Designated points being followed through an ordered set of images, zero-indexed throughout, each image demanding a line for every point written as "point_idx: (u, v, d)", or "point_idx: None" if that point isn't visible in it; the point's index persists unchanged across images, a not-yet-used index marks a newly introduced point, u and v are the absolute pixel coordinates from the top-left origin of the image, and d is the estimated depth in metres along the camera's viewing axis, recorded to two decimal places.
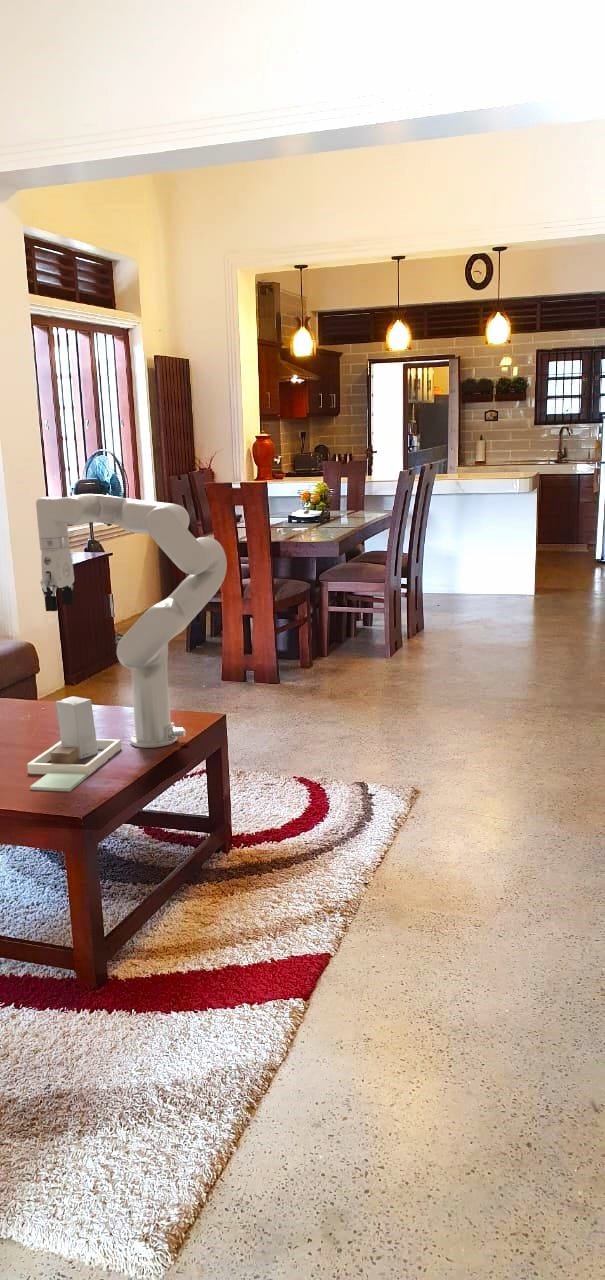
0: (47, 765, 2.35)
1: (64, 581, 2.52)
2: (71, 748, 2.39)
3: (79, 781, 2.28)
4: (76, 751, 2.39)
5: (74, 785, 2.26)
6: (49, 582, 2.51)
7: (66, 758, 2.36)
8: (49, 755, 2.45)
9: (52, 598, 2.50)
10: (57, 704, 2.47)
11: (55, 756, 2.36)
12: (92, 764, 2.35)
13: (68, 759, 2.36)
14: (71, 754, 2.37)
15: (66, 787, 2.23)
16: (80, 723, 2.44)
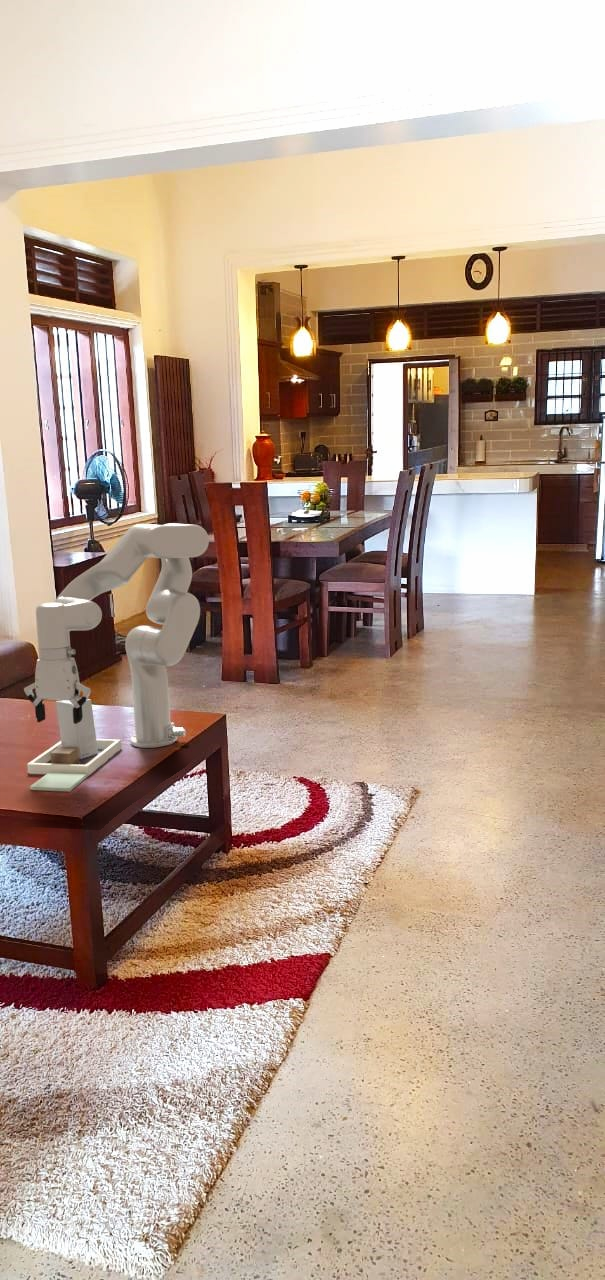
0: (47, 765, 2.35)
1: None
2: (71, 748, 2.39)
3: (79, 781, 2.28)
4: (76, 751, 2.39)
5: (74, 785, 2.26)
6: None
7: (66, 758, 2.36)
8: (49, 755, 2.45)
9: None
10: (57, 704, 2.47)
11: (54, 756, 2.36)
12: (92, 764, 2.35)
13: (68, 759, 2.36)
14: (71, 754, 2.37)
15: (66, 787, 2.23)
16: (80, 723, 2.44)
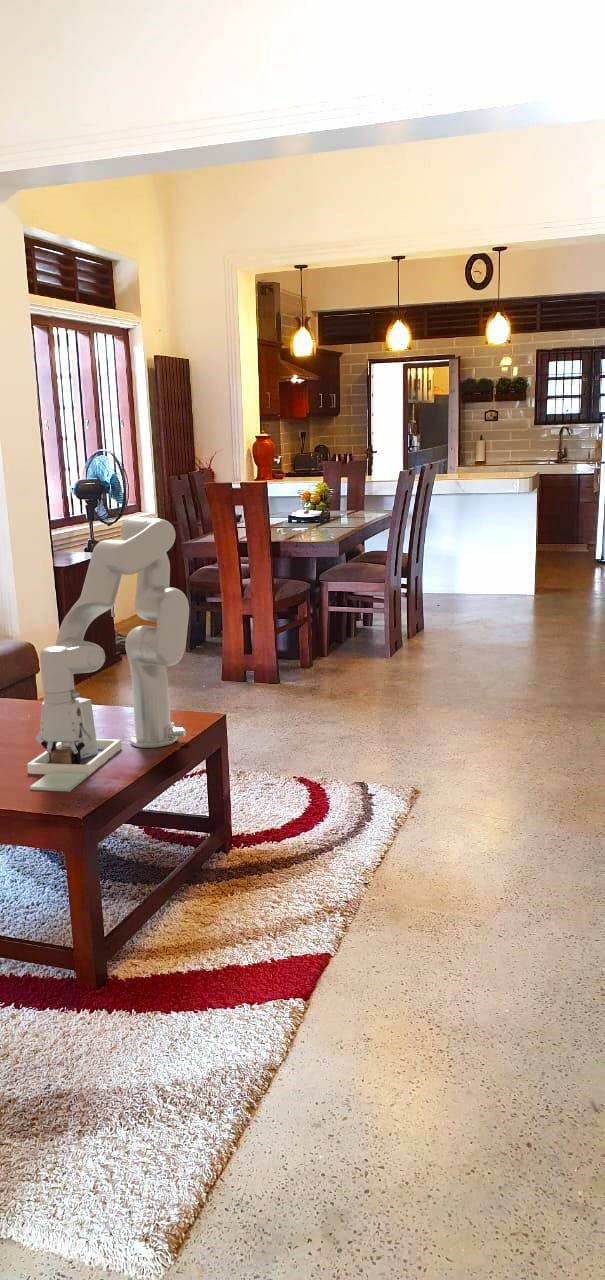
0: (47, 765, 2.35)
1: None
2: (71, 748, 2.39)
3: (79, 781, 2.28)
4: None
5: (74, 785, 2.26)
6: None
7: (65, 757, 2.36)
8: None
9: None
10: None
11: (54, 756, 2.36)
12: (92, 764, 2.35)
13: (68, 759, 2.36)
14: None
15: (66, 787, 2.23)
16: None
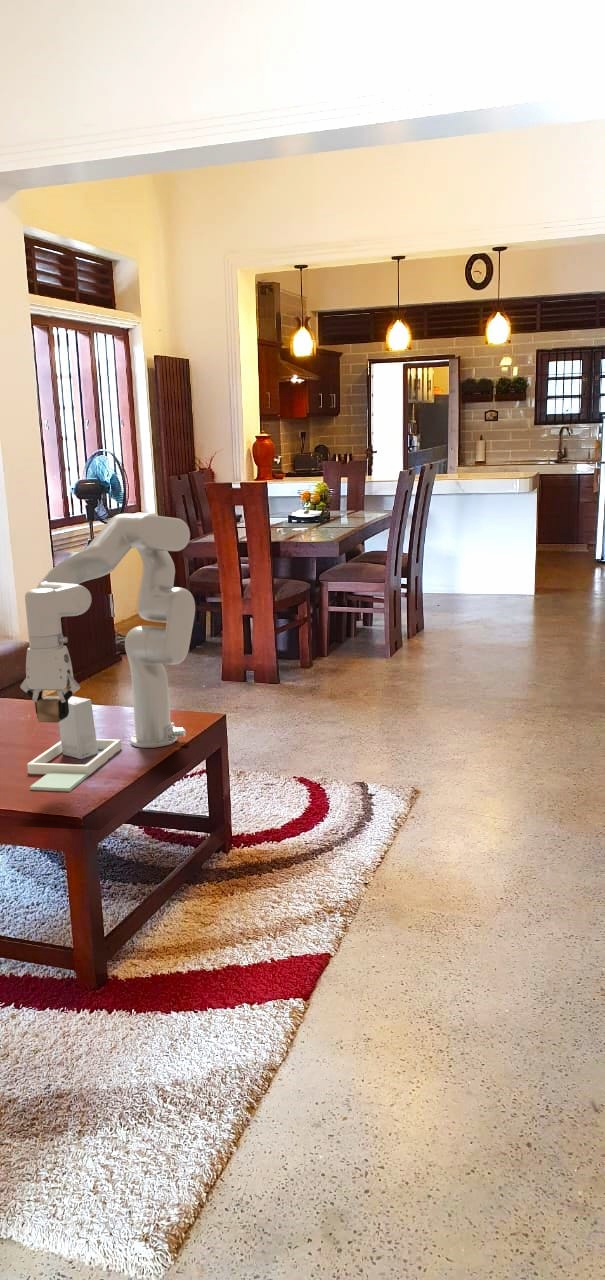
0: (47, 765, 2.35)
1: None
2: (58, 697, 2.26)
3: (79, 781, 2.28)
4: None
5: (74, 785, 2.26)
6: None
7: (52, 706, 2.22)
8: (49, 755, 2.45)
9: None
10: None
11: (40, 705, 2.23)
12: (92, 764, 2.35)
13: (55, 708, 2.22)
14: (58, 703, 2.23)
15: (66, 787, 2.23)
16: (80, 723, 2.44)
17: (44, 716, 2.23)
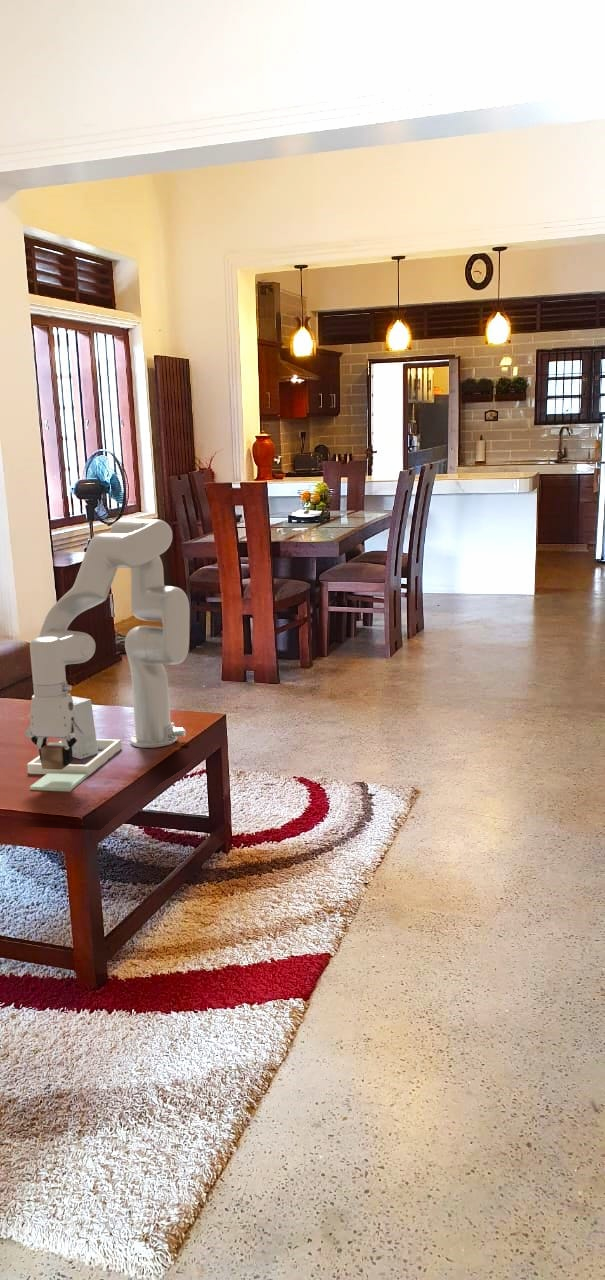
0: None
1: None
2: (62, 744, 2.28)
3: (79, 781, 2.28)
4: None
5: (74, 785, 2.26)
6: None
7: (56, 754, 2.24)
8: None
9: None
10: None
11: (45, 752, 2.25)
12: (92, 764, 2.35)
13: (59, 755, 2.24)
14: (62, 750, 2.25)
15: (66, 787, 2.23)
16: (80, 723, 2.44)
17: (48, 763, 2.25)
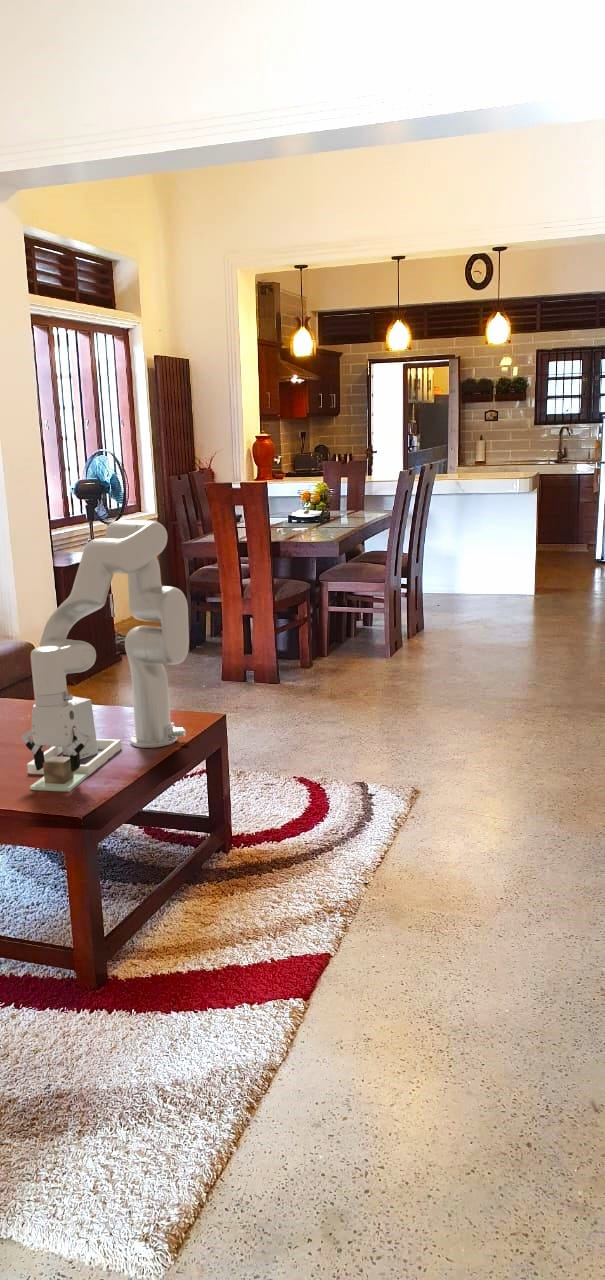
0: None
1: None
2: (64, 758, 2.29)
3: (79, 781, 2.28)
4: None
5: (74, 785, 2.26)
6: None
7: (59, 768, 2.25)
8: (49, 755, 2.45)
9: None
10: None
11: (47, 766, 2.26)
12: (92, 764, 2.35)
13: (61, 770, 2.25)
14: (65, 764, 2.26)
15: (66, 787, 2.23)
16: (80, 723, 2.44)
17: (51, 778, 2.26)
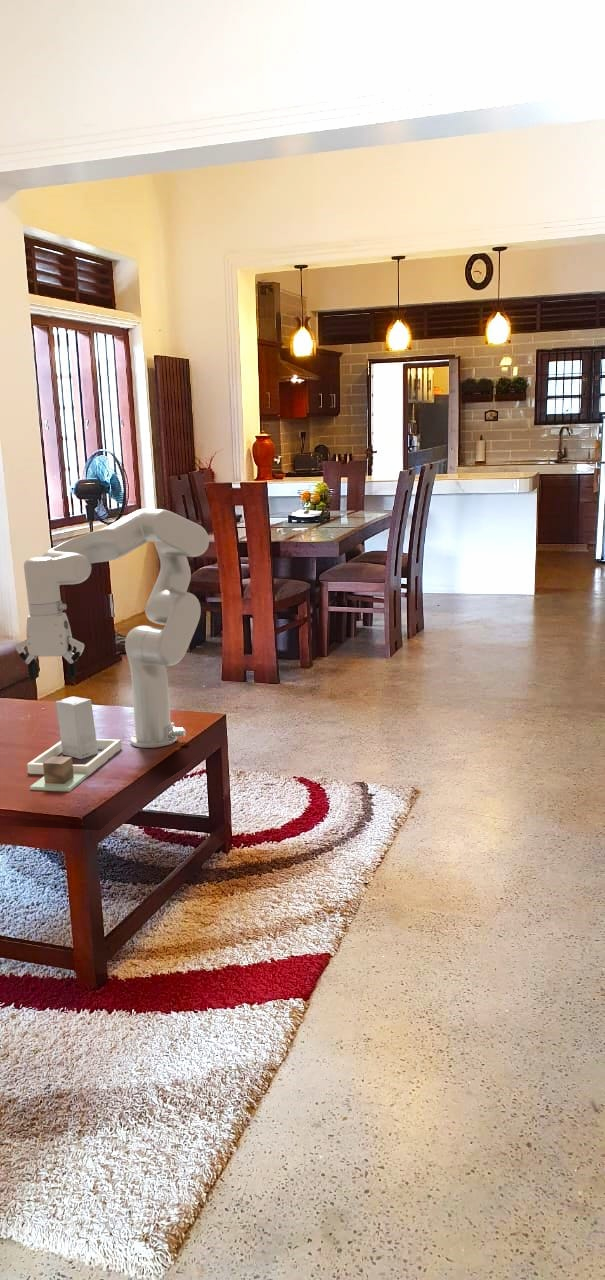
0: None
1: None
2: (64, 758, 2.29)
3: (79, 781, 2.28)
4: (70, 761, 2.29)
5: (74, 785, 2.26)
6: None
7: (59, 768, 2.25)
8: (49, 755, 2.45)
9: None
10: (57, 704, 2.47)
11: (47, 766, 2.26)
12: (92, 764, 2.35)
13: (61, 770, 2.25)
14: (65, 764, 2.26)
15: (66, 787, 2.23)
16: (80, 723, 2.44)
17: (51, 778, 2.26)
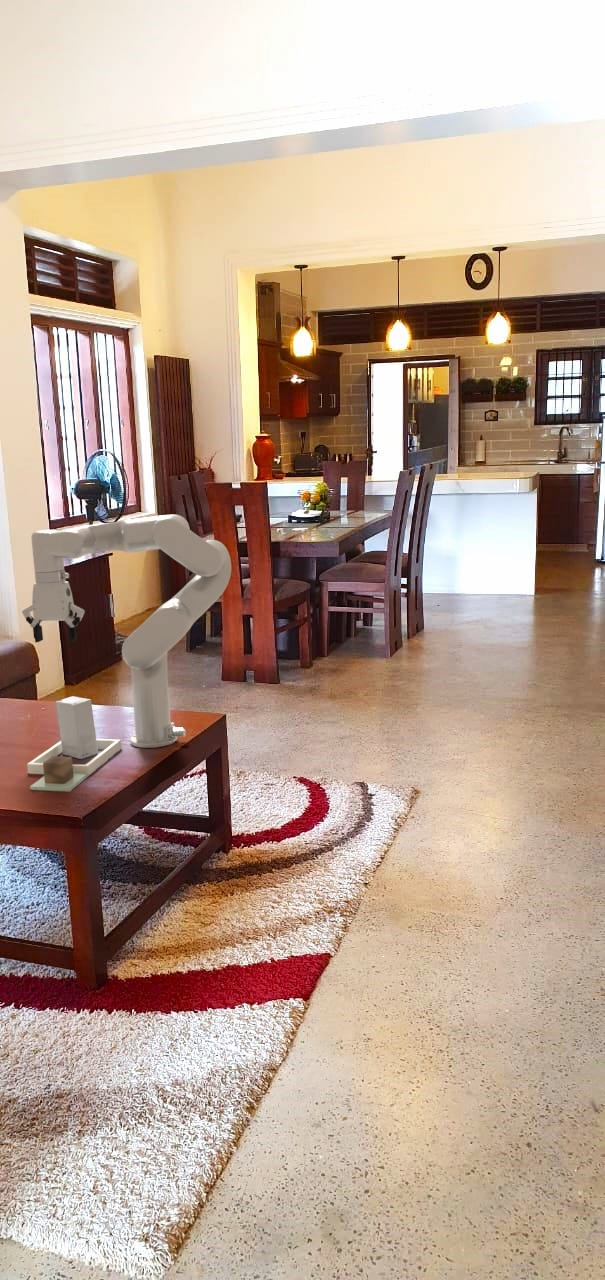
0: None
1: None
2: (64, 758, 2.29)
3: (79, 781, 2.28)
4: (70, 761, 2.29)
5: (74, 785, 2.26)
6: None
7: (59, 768, 2.25)
8: (49, 755, 2.45)
9: None
10: (57, 704, 2.47)
11: (47, 766, 2.26)
12: (92, 764, 2.35)
13: (61, 770, 2.25)
14: (65, 764, 2.26)
15: (66, 787, 2.23)
16: (80, 723, 2.44)
17: (51, 778, 2.26)
